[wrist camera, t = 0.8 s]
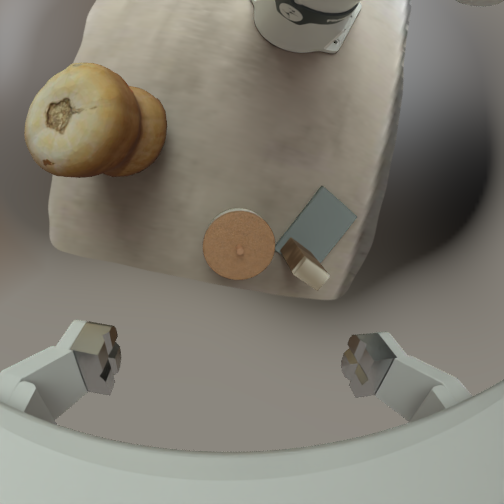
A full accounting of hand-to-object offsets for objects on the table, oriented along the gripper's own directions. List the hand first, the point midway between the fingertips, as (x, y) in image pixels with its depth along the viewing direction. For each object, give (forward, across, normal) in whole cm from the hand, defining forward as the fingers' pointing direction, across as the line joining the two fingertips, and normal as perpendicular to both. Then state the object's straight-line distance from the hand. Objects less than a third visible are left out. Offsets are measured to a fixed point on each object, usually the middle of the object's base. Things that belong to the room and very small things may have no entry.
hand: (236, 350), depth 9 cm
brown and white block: (+38, -14, +10) cm, 42 cm away
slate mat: (+39, -17, +6) cm, 43 cm away
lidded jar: (+39, -3, +7) cm, 40 cm away
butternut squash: (+39, +16, -9) cm, 43 cm away
